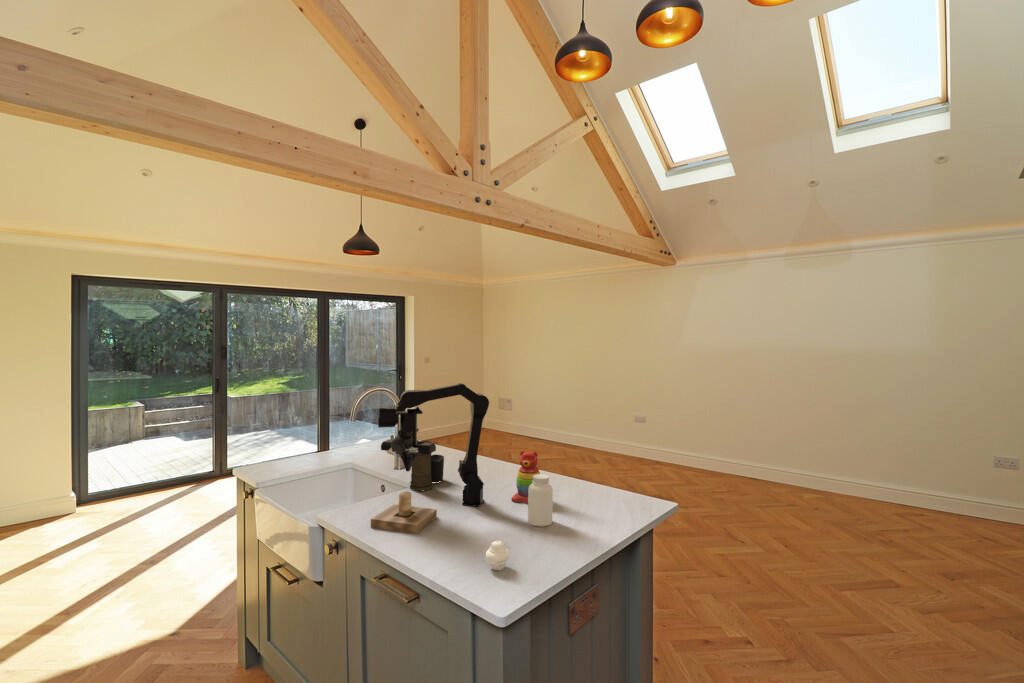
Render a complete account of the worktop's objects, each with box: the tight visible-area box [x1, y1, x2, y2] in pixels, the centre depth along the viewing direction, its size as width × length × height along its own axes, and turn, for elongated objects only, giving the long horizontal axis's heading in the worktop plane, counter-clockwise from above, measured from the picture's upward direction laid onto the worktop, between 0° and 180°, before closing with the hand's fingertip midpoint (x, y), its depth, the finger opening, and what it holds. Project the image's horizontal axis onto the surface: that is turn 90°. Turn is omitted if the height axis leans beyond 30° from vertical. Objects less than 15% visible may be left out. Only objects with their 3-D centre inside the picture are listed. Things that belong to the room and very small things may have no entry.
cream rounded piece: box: [485, 540, 510, 571], centre depth 119 cm, size 6×6×7 cm
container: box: [409, 440, 433, 491], centre depth 184 cm, size 9×9×18 cm
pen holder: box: [431, 454, 445, 482], centre depth 193 cm, size 9×9×10 cm
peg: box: [398, 491, 412, 518], centre depth 149 cm, size 4×4×9 cm
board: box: [370, 503, 438, 534], centre depth 149 cm, size 16×14×2 cm
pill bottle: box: [527, 473, 554, 527], centre depth 150 cm, size 8×8×15 cm
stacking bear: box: [510, 451, 541, 504], centre depth 172 cm, size 11×10×18 cm
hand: (407, 471), depth 161 cm, fingers closed
